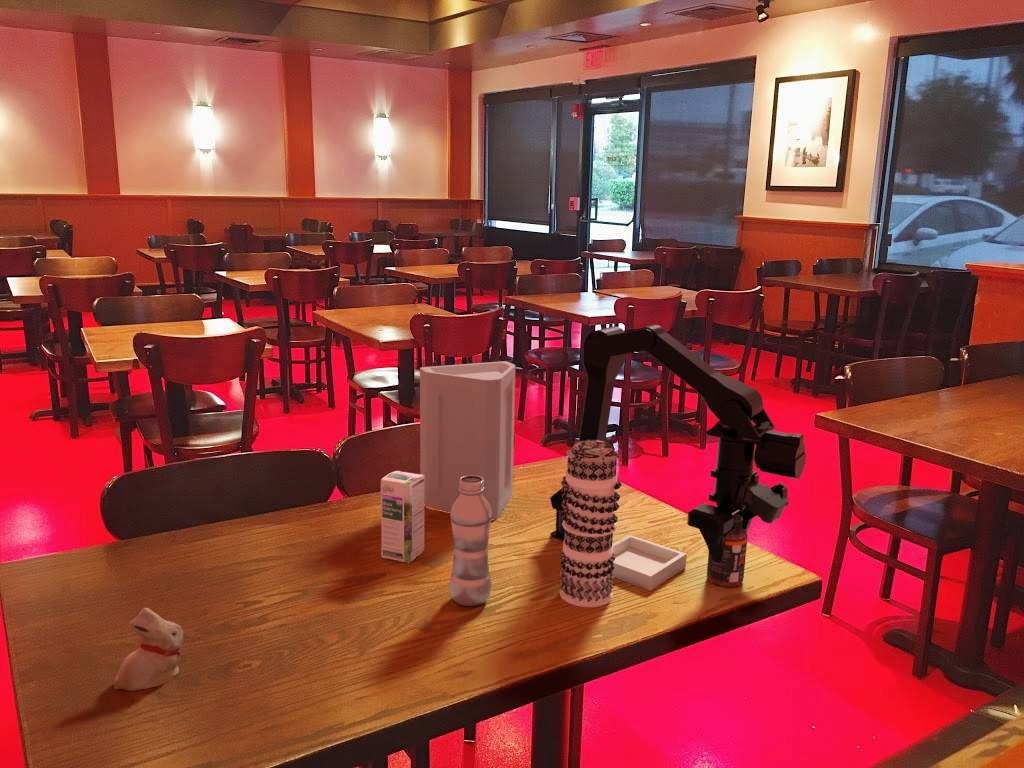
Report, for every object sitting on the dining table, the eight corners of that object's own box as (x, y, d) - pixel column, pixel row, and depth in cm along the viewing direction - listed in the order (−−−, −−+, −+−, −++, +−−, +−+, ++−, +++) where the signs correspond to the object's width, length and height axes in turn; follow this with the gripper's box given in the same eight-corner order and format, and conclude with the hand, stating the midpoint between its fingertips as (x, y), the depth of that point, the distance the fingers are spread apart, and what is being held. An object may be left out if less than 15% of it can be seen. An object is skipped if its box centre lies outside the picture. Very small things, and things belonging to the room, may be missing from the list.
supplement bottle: (744, 590, 133) (750, 525, 130) (706, 586, 134) (712, 521, 131) (742, 574, 139) (747, 511, 136) (706, 570, 140) (711, 508, 137)
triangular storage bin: (445, 527, 155) (445, 383, 148) (419, 501, 168) (418, 367, 161) (535, 513, 163) (539, 375, 157) (503, 488, 176) (506, 361, 170)
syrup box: (380, 558, 142) (378, 478, 138) (397, 545, 147) (396, 468, 144) (409, 564, 139) (408, 484, 136) (425, 551, 145) (425, 473, 141)
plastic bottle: (497, 594, 130) (499, 475, 125) (481, 614, 123) (483, 489, 119) (459, 587, 132) (460, 469, 127) (442, 607, 125) (442, 483, 121)
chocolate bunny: (175, 690, 103) (169, 618, 101) (110, 692, 103) (103, 619, 101) (188, 665, 109) (183, 596, 107) (127, 667, 108) (120, 597, 106)
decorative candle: (582, 575, 137) (589, 431, 131) (626, 595, 130) (635, 445, 125) (545, 593, 131) (550, 443, 125) (589, 614, 124) (597, 457, 118)
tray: (591, 568, 139) (591, 554, 139) (628, 547, 148) (629, 534, 147) (649, 590, 132) (650, 576, 132) (685, 567, 141) (686, 553, 140)
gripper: (757, 492, 120) (747, 590, 123) (806, 463, 133) (796, 551, 137) (689, 474, 127) (682, 567, 130) (742, 448, 141) (735, 533, 144)
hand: (726, 555), depth 135 cm, fingers open, 7 cm apart
